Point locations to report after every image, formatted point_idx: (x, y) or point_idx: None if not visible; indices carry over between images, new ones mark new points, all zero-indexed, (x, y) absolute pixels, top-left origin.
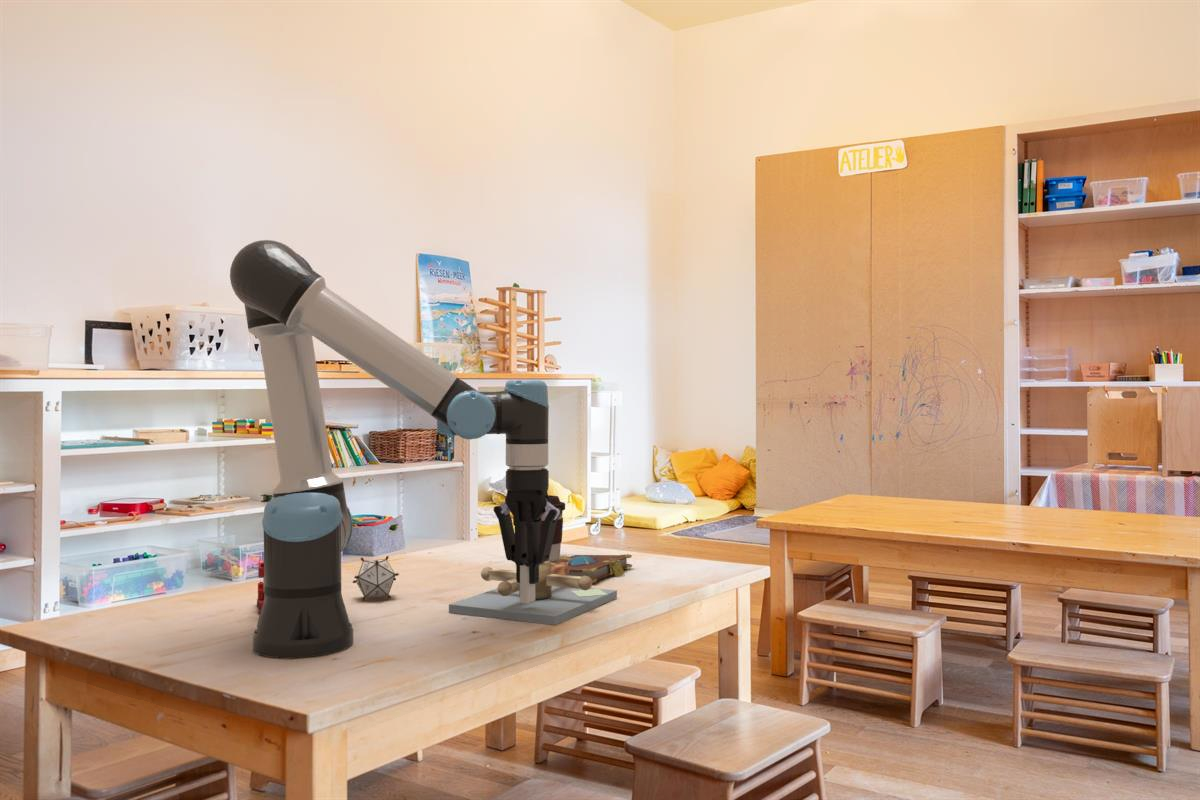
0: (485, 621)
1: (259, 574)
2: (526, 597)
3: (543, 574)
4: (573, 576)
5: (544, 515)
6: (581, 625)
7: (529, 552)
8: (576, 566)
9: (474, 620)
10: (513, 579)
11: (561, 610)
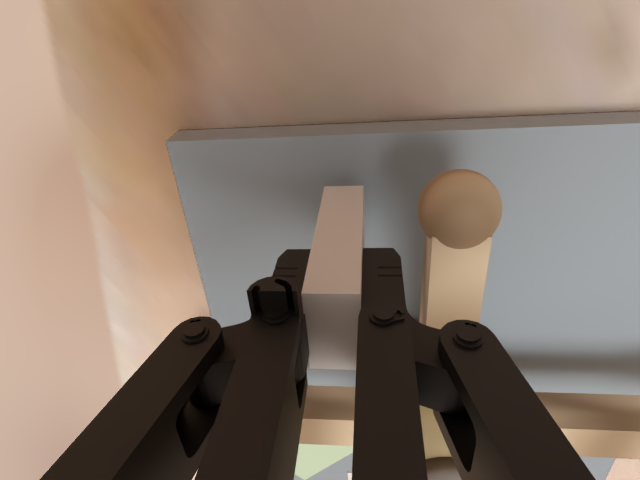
0: (482, 43)
1: None
2: (326, 198)
3: None
4: None
5: None
6: (105, 172)
7: (268, 372)
8: None
9: (545, 33)
10: (470, 319)
11: (214, 233)
